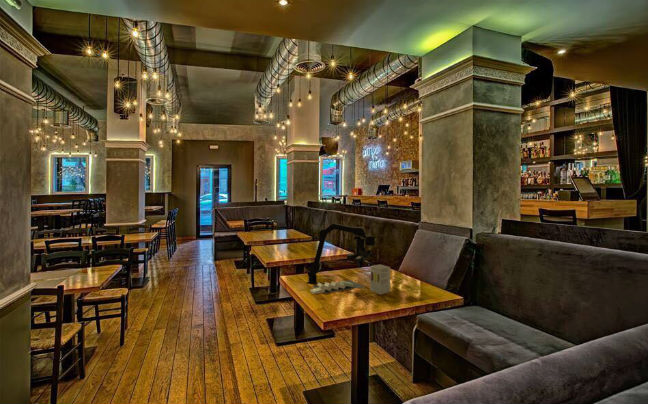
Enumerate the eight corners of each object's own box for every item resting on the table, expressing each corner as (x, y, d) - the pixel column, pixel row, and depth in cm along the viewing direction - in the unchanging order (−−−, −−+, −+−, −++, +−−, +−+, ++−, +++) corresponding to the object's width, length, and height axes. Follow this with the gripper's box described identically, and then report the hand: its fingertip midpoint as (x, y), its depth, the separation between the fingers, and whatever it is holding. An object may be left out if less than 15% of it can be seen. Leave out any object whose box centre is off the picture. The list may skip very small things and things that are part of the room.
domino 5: (349, 285, 238) (339, 283, 234) (349, 282, 238) (340, 280, 234) (353, 287, 234) (343, 285, 230) (354, 284, 234) (344, 282, 230)
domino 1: (321, 289, 227) (310, 292, 223) (321, 286, 227) (310, 289, 223) (325, 291, 223) (314, 294, 219) (324, 288, 223) (313, 291, 219)
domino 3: (333, 288, 232) (324, 284, 228) (334, 285, 232) (325, 282, 229) (337, 290, 228) (328, 286, 224) (338, 287, 228) (329, 283, 224)
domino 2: (326, 289, 229) (317, 285, 226) (327, 286, 230) (318, 282, 226) (330, 291, 225) (320, 287, 221) (331, 288, 225) (322, 284, 222)
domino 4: (340, 286, 235) (330, 283, 231) (341, 284, 235) (332, 280, 231) (344, 288, 230) (334, 285, 226) (345, 286, 230) (335, 282, 227)
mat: (311, 287, 236) (311, 286, 236) (350, 281, 251) (350, 280, 251) (324, 294, 220) (324, 293, 220) (365, 287, 236) (365, 286, 236)
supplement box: (369, 291, 228) (369, 265, 227) (379, 288, 233) (379, 263, 232) (380, 294, 220) (380, 268, 219) (390, 292, 225) (390, 266, 225)
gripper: (355, 248, 226) (355, 272, 227) (378, 246, 236) (378, 268, 236) (346, 245, 236) (346, 268, 237) (368, 243, 245) (368, 265, 246)
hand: (360, 267), depth 239 cm, fingers closed
